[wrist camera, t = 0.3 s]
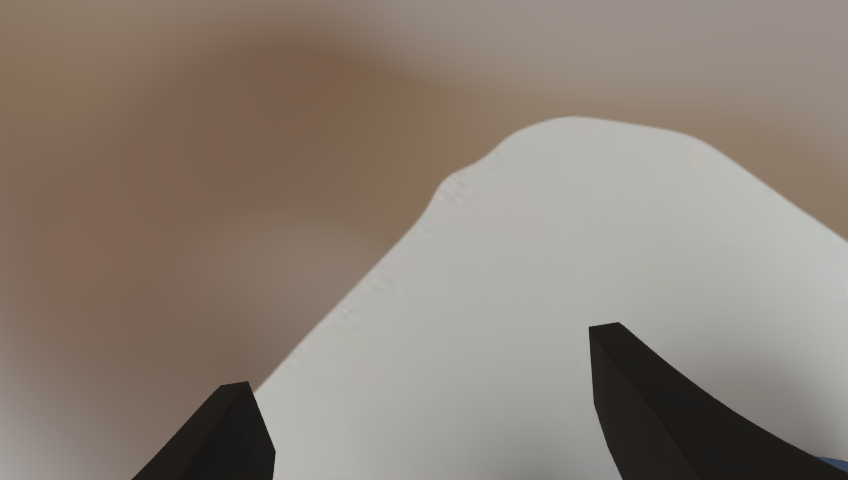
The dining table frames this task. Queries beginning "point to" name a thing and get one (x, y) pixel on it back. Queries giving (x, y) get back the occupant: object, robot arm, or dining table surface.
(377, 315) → the dining table surface
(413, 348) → the dining table surface
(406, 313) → the dining table surface
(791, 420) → the dining table surface
